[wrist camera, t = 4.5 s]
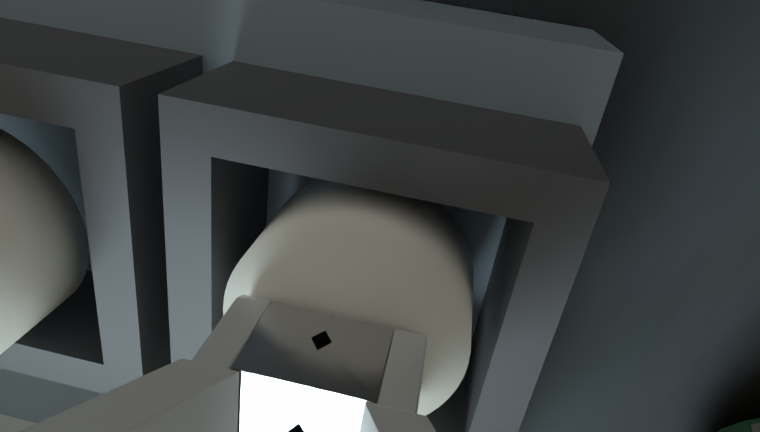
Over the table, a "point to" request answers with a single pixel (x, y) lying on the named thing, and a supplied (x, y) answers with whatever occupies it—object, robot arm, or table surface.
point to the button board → (298, 166)
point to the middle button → (35, 240)
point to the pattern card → (13, 424)
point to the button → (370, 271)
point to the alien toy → (743, 426)
